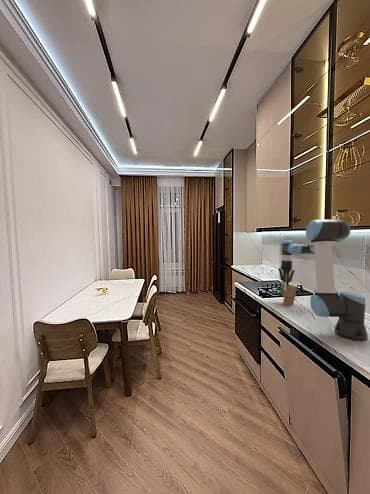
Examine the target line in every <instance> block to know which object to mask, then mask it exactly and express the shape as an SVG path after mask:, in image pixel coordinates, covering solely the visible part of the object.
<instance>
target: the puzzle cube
mask: <svg viewBox="0 0 370 494" xmlns="http://www.w3.org/2000/svg"><path fill="white" fill-rule="evenodd" d="M289 285H294V286H296V284H294V283H292V282H289ZM280 294H281V296H282V297H283V298H284V296H285V290H284V286H283V282H280Z"/></svg>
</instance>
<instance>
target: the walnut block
mask: <svg viewBox="0 0 370 494" xmlns="http://www.w3.org/2000/svg"><path fill="white" fill-rule="evenodd" d="M294 285H295V284H294ZM294 285H288V286H287V287H286V291H285V296H284V297H283V301H282V304H283V305H285V306H288V307H290V306H292V305H294V304H295V299H296V294H297V289H298V286H296V285H295V286H294Z"/></svg>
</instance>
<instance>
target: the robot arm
mask: <svg viewBox="0 0 370 494" xmlns="http://www.w3.org/2000/svg"><path fill="white" fill-rule="evenodd" d="M350 234H351V226H350V225H349V223H348V222H347V221H345V220H342V219H324V218H322V219H321V218H320V219H313V220H311V221H310V222H309V223H308V224H307V226H306V230H305V237H306V239H307V240H308V241H310V242H309V243H293V240H291V239H289V240H288V239H285V240H284V239H283V240H282V242H281V262H280V263H281V266H280V267H278V268H277V270H278V273H279V277H280V281H282V283H283V286H284V290H285V291H286V287H287V286H288V285H289V283H292V281H293V278H294V274H295V272H296V270H295V269H294V268H293V267H292V266H293V255H295V256H296V255H314V263H315V264H314V265H315V276H316V278H315V279H316V288H315V290H314V292H313V295H311V297H310V298H309V299H310V300H309V301H310V302H309V303H310V307H311V310H312V311H313V313H314V314H315V315H316V316H318V317H320V318H321V317H324V318H333V317H334V318H338V319H337V322H336V324H335V326H334V333H335V334H336V335H338V336H339V337H342V338H344V339H347V340H352V341H359V342H361V341H366V340H368V336H369V335H368V334H369V333H368V331H367V327H366V325H365V320H366V317H365V316H366V315H365V314H366V298H365V296H364V295H361V294H358V293H354V292H349V291H340V293H339V292H338V290H337V289H336V286H335V273H334V263H333V262H334V259H333V247H332V246H333V244H335V243H340V242H343V241H345V240H346V239H347V238H348V237H350Z"/></svg>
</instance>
